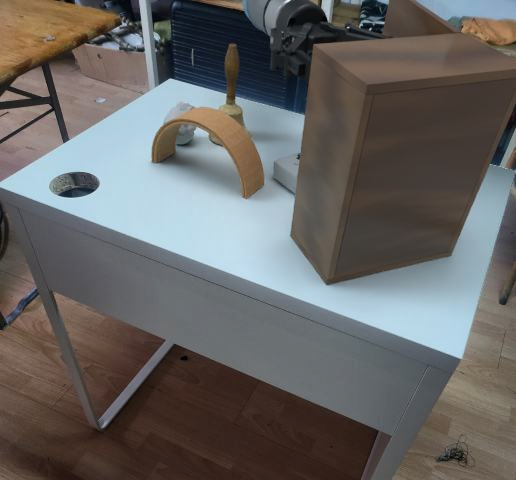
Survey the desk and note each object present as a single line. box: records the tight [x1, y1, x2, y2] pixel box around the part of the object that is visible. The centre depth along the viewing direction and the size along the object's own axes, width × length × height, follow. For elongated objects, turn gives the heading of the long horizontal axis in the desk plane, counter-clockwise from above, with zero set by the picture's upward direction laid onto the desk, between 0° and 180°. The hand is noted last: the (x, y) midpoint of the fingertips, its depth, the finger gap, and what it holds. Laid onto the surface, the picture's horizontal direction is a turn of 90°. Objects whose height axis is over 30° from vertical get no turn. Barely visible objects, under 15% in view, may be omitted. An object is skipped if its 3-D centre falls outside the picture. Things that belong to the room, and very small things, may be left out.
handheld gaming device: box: [272, 152, 300, 195], centre depth 86 cm, size 9×15×4 cm, turn 125°
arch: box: [150, 106, 265, 200], centre depth 83 cm, size 6×20×10 cm, turn 57°
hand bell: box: [208, 43, 253, 146], centre depth 90 cm, size 8×8×16 cm
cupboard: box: [289, 32, 516, 286], centre depth 65 cm, size 12×21×26 cm, turn 112°
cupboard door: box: [381, 0, 463, 38], centre depth 79 cm, size 7×21×26 cm, turn 12°
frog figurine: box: [162, 101, 198, 145], centre depth 91 cm, size 6×7×7 cm
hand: (364, 74), depth 66 cm, fingers open, 13 cm apart
